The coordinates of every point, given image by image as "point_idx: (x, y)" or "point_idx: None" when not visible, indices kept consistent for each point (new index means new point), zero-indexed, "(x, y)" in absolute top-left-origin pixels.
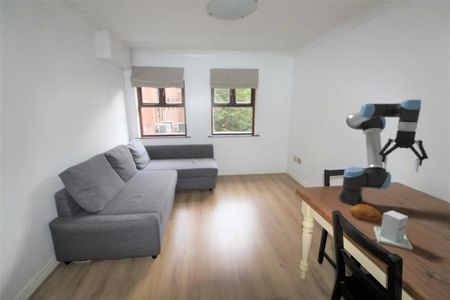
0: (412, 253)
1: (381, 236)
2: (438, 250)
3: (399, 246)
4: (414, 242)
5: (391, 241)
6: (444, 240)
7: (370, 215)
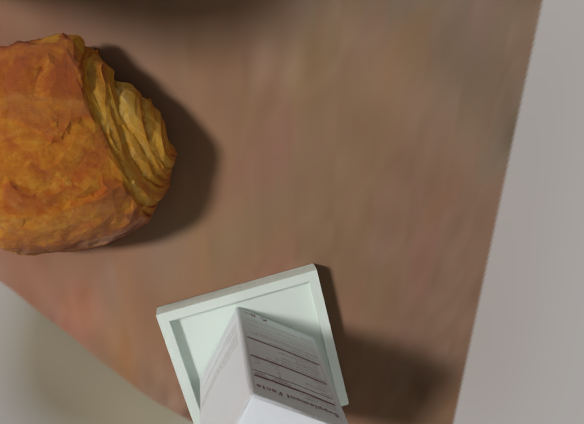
0: None
1: None
2: (452, 312)
3: None
4: (360, 310)
5: None
6: (501, 176)
7: (108, 240)
